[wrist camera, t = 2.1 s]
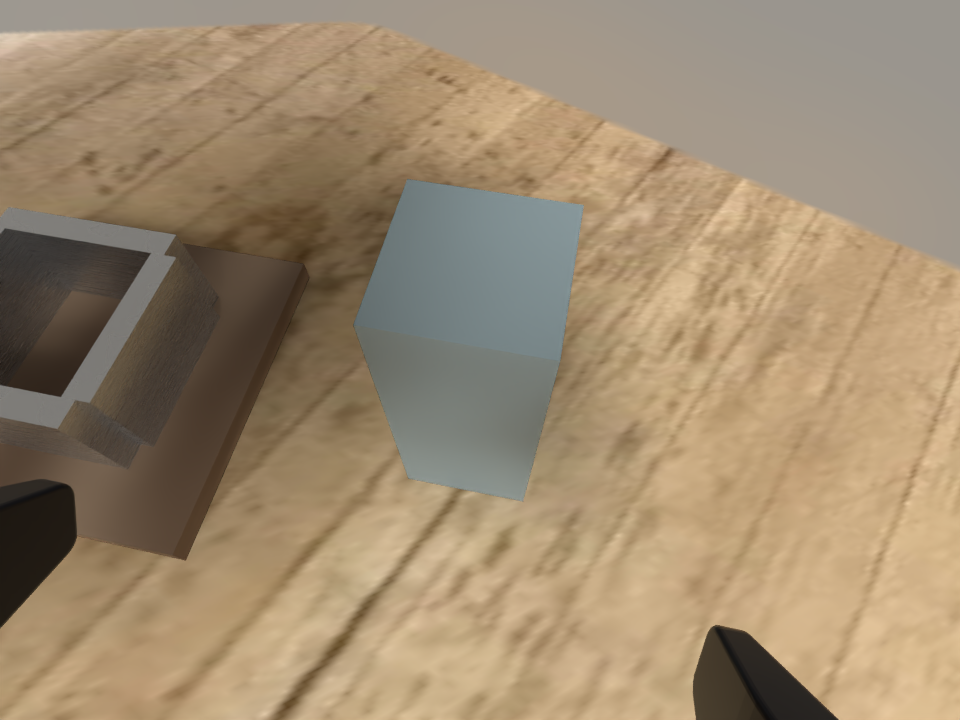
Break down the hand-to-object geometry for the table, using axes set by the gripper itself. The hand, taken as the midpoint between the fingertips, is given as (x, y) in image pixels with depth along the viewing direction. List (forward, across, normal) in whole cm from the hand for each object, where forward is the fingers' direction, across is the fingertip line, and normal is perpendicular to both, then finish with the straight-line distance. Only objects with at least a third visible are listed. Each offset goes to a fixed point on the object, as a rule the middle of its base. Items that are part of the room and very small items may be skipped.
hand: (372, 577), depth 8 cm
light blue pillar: (+14, 0, +4) cm, 15 cm away
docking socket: (+14, +16, +4) cm, 22 cm away
